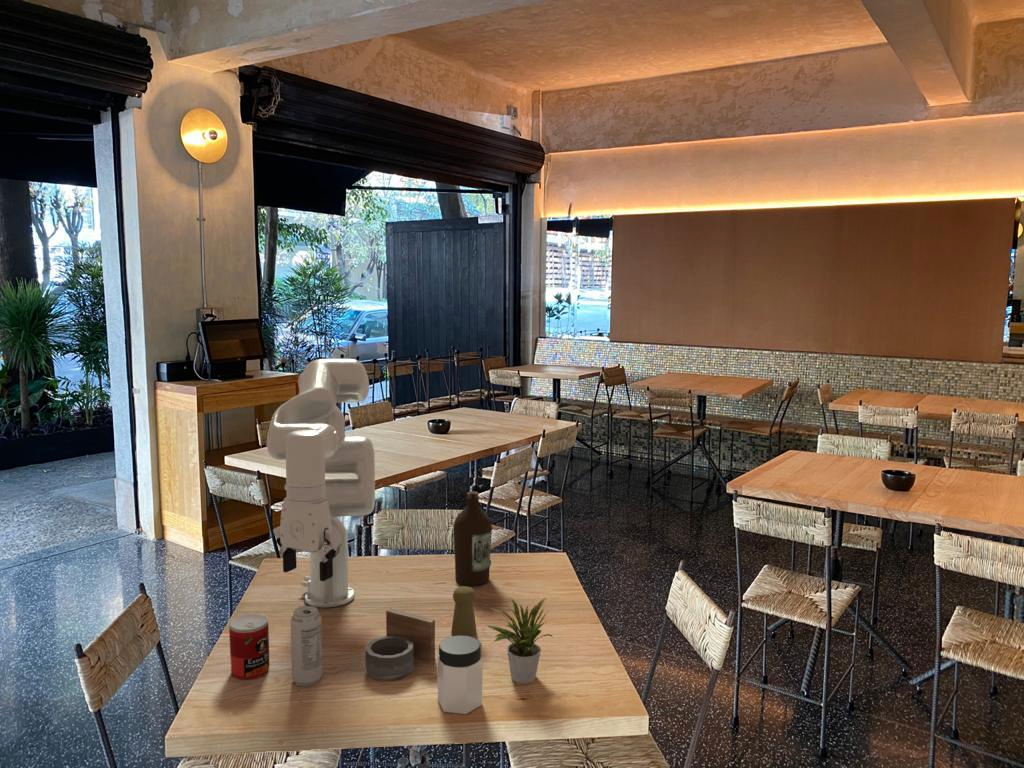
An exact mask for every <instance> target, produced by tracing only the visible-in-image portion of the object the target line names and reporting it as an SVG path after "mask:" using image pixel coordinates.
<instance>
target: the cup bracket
mask: <svg viewBox="0 0 1024 768" xmlns="http://www.w3.org/2000/svg"><path fill="white" fill-rule="evenodd" d="M385 622H386V626H385V627H386V628H385V631H386V635H385V636H382V637H381V636H379V637H378V638H374V639H372V640H371V641H369V642H368V643H366V647H365V650H364V652H365V656H364V657H365V674H366V675H367V676H368V677H369V678H371V679H373V680H376V681H382V682H393V681H398V680H401V679H404V678H406V677H407V676H409V675H410V674H412V673H413V671H414V661H415V660H414V658H416V659H419V660H423V661H427V662H430V663H431V662H433V661H434V660H436V620H435V619H433V618H431V617H430V618H429V617H427V616H426V617H425V616H422V615H418V614H414V613H410V612H406V611H402V610H398V609H395V608H388V609H387V610H386V611H385Z"/></svg>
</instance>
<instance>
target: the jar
mask: <svg viewBox="0 0 1024 768" xmlns="http://www.w3.org/2000/svg"><path fill="white" fill-rule="evenodd" d="M483 664H484V663H483V658H482V644H481V642H480V640H478V638H475V637H470V636H452V635H451V636H450V637H445V639H443V640H441V641H440V642H439V645H438V655H437V701H438V703H439V704H440V707H441V709H442V712H444V713H450V714H459V715H460V714H461V715H468V714H469V713H471V712H472V711H474V710H476V709H477V708H479V707H481V706H482V705H483Z"/></svg>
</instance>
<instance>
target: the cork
mask: <svg viewBox="0 0 1024 768" xmlns="http://www.w3.org/2000/svg"><path fill="white" fill-rule="evenodd" d="M452 598H453V602H454V603H455V604H454V609H453V617H452V625H451V630H450V635H451V637H452V636H470V637H473V638H475V636H476V635H477V625H476V618H475V609H474V601H475V598H476V592H475V590H474V589H473V587H471V586H465V585H462V586H458V587H457V588H455V589H454V591H453V594H452Z"/></svg>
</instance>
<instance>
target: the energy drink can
mask: <svg viewBox="0 0 1024 768" xmlns="http://www.w3.org/2000/svg"><path fill="white" fill-rule="evenodd" d="M292 614H293V615H292V616H291V618H290V649H291V655H290V656H291V657H290V659H291V679H292V681H293V682H294V684H296V685H297V686H300V687H309V686H314V685H316V684H317V683H319V681H320V679H321V677H322V676H323V653H322V651H323V649H322V648H323V647H322V646H323V643H322V616H321V614H320V612H319V609H318V607H315V606H311V605H304V606H299V607H296V608H295V609H294V610H293V613H292Z"/></svg>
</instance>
